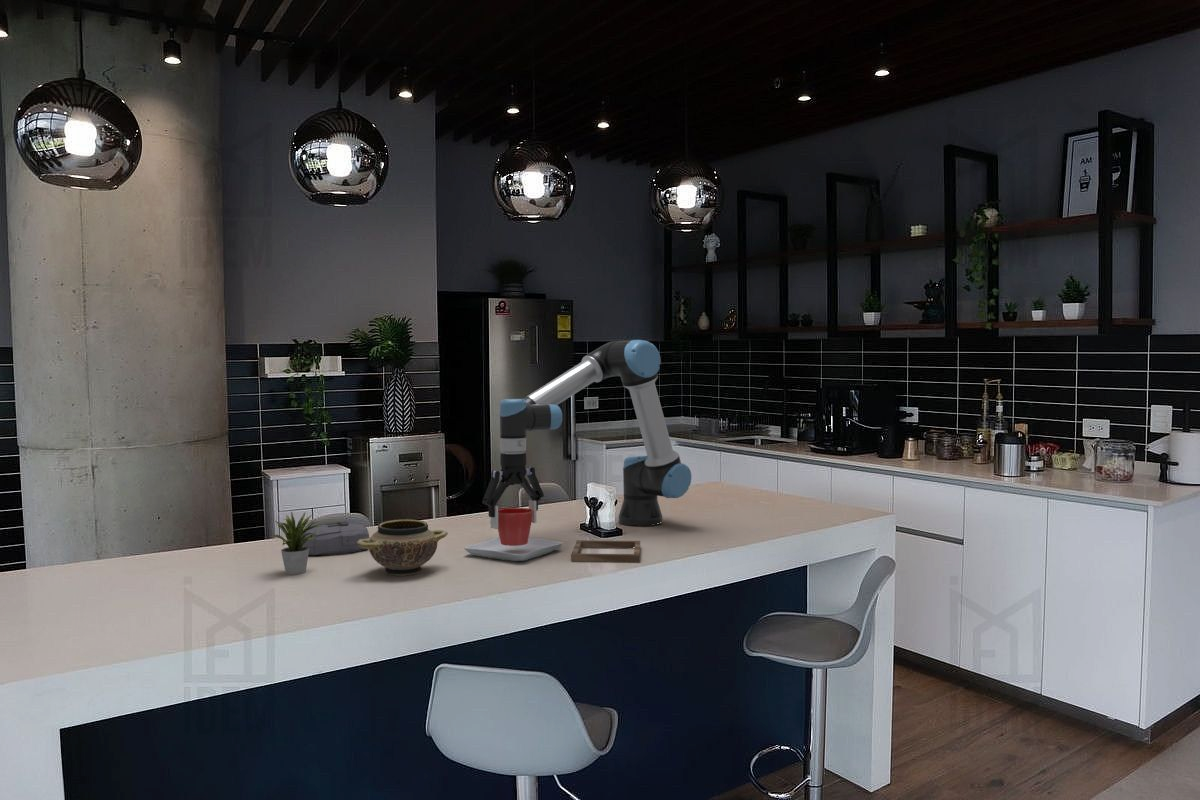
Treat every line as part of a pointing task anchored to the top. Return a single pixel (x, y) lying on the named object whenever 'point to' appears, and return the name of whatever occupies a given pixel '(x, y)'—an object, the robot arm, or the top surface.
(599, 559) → the holder frame
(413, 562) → the ceramic bowl
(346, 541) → the soft grey pack
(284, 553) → the house plant
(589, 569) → the top surface
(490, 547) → the salad plate
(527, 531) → the flower pot
